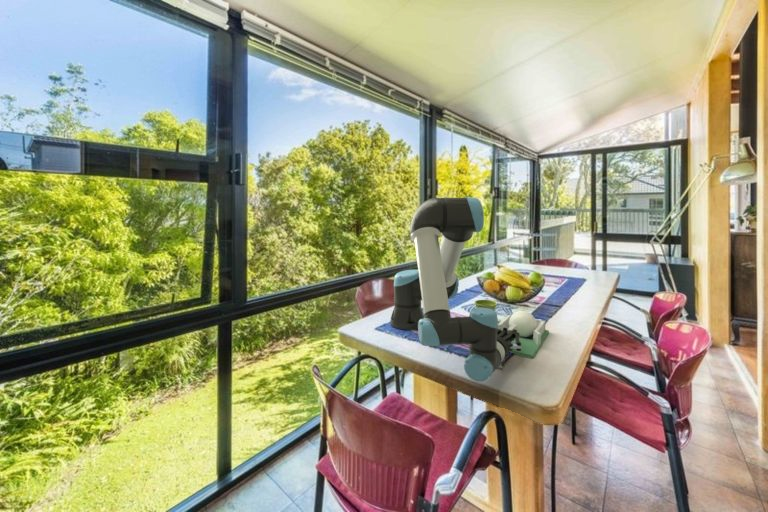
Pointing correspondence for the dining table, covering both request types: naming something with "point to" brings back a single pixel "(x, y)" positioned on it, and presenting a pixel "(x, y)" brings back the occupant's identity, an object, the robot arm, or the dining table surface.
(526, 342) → the green tray
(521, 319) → the ball
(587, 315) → the dining table surface
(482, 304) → the plant pot
